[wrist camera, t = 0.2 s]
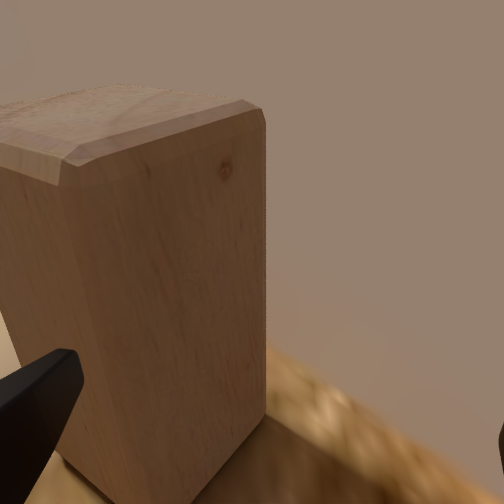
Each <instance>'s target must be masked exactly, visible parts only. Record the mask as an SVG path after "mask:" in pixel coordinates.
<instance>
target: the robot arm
mask: <svg viewBox="0 0 504 504" xmlns="http://www.w3.org/2000/svg"><path fill="white" fill-rule="evenodd" d="M83 385H84V373H83V369H82V366H81V362H80V359H79V355H78V353H77V352H76V351H75V350H72V349H64V348H58V349H55V350H53V351H51V352H50V353H48V354H46V355H44V356H42V357H40V358H39V359H37V360H35V361H33V362H31V363H30V364H28V365H26V366H24V367H22V368H20V369H19V370H17V371H15V372H13V373H11V374H9V375H8V376H6V377H4V378H2V379H0V504H24V503H25V501H26V499H27V497H28V496H29V494H30V492H31V490H32V489H33V487H34V485H35V483H36V482H37V480H38V478H39V477H40V475H41V473H42V471H43V470H44V468H45V466H46V464H47V463H48V461H49V459H50V457H51V455H52V453H53V452H54V450H55V448H56V446H57V444H58V442H59V440H60V437H61V435H62V433H63V431H64V428H65V426H66V424H67V422H68V420H69V417H70V415H71V413H72V411H73V408H74V406H75V404H76V402H77V400H78V397H79V395H80V393H81V391H82V388H83ZM499 451H500V456H501V462H502V467H503V473H504V423H503V426H502V429H501V431H500V434H499Z"/></svg>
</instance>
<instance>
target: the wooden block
mask: <svg viewBox="0 0 504 504" xmlns="http://www.w3.org/2000/svg"><path fill="white" fill-rule="evenodd" d="M0 311H1V313H2V316H3V319H4V322H5V324H6V327H7V330H8V332H9V335H10V337H11V341H12V343H13V346H14V348H15V351H16V354H17V356H18V359H19V362H20V365H21V367H24V366H26V365H28V364H30V363H31V362H33V361H35V360H37V359H39V358H40V357H42V356H44V355H46V354H48V353H50V352H51V351H53V350H55V349H58V348H64V349H72V350H75V351H76V352H77V353H78V355H79V359H80V362H81V366H82V369H83V373H84V385H83V388H82V391H81V393H80V395H79V397H78V400H77V402H76V404H75V406H74V408H73V411H72V413H71V415H70V417H69V420H68V422H67V424H66V426H65V428H64V431H63V433H62V435H61V437H60V440H59V442H58V444H57V446H56V448H55V451H57V452H58V453H59V454H60V455H61V456H62V457H63V458H64V459H65V460H67V461H68V462H69V463H70V464H71V465H72V466H73V467H74V468H76V469H77V470H78V471H79V472H80V473H81V474H82V475H83V476H85V477H86V478H87V479H88V480H89V481H90V482H91V483H92V484H94V485H95V486H96V487H97V488H98V489H99V490H100V491H101V492H103V493H104V494H105V495H106V496H107V497H108V498H109V499H110V500H112V501H113V502H114V503H115V504H191V502H192V501H193V500H194V499H195V498H196V497H197V495H198V494H199V493H200V492H201V491H202V490H203V488H204V487H205V486H206V485H207V484H208V482H209V481H210V480H211V479H212V478H213V477H214V475H215V474H216V473H217V472H218V471H219V470H220V468H221V467H222V466H223V465H224V464H225V463H226V461H227V460H228V459H229V458H230V457H231V455H232V454H233V453H234V452H235V451H236V450H237V448H238V447H239V446H240V445H241V444H242V443H243V441H244V440H245V439H246V438H247V437H248V436H249V434H250V433H251V432H252V431H253V430H254V428H255V427H256V426H257V425H258V424H259V423H260V421H261V420H262V418H263V417H264V413H265V410H266V122H265V118H264V115H263V112H262V109H261V108H259V107H257V106H255V105H254V104H251V103H249V102H247V101H245V100H242V99H234V98H226V97H218V96H210V95H201V94H194V93H186V92H178V91H170V90H162V89H154V88H147V87H139V86H130V85H122V84H118V85H112V86H106V87H101V88H95V89H90V90H84V91H78V92H73V93H67V94H61V95H56V96H50V97H45V98H39V99H33V100H28V101H22V102H17V103H11V104H6V105H0Z"/></svg>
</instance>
